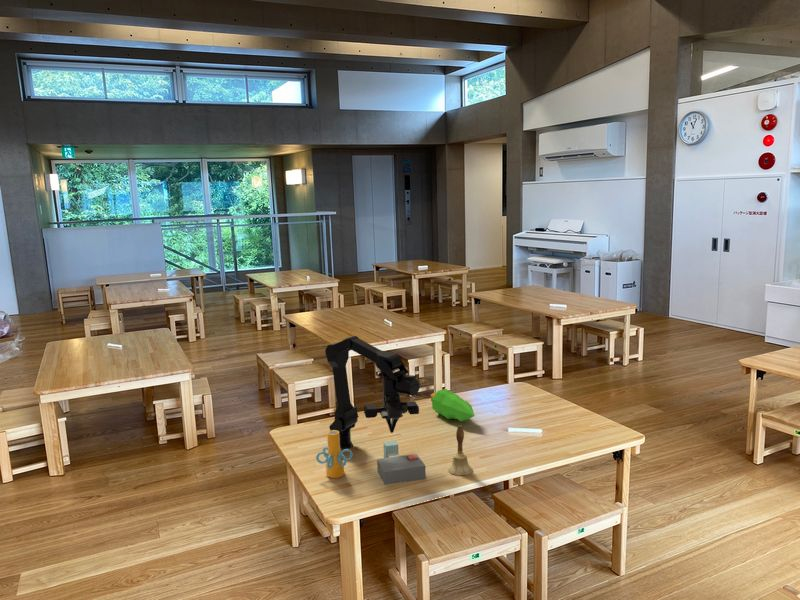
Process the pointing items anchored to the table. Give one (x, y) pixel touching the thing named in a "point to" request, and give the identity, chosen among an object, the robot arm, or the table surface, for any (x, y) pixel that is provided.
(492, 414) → the table surface
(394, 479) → the housing
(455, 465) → the hand bell
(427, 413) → the table surface
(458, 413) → the decorative tree
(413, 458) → the plunger
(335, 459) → the orange vase with handles
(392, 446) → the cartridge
